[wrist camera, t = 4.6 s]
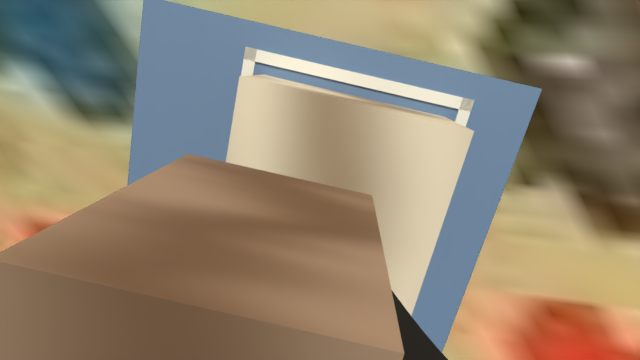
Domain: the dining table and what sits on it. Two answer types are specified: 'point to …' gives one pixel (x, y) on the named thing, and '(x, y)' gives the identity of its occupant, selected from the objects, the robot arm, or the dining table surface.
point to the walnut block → (204, 273)
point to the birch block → (358, 160)
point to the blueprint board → (337, 75)
